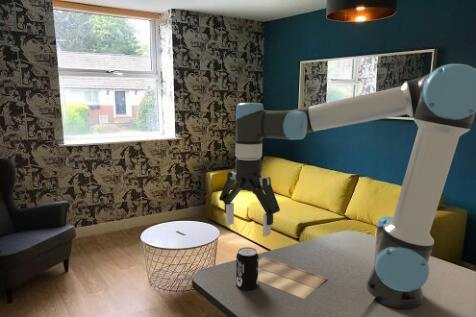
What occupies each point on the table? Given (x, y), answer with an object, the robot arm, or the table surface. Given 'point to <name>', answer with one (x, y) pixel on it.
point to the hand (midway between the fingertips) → (247, 229)
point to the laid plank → (284, 284)
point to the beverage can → (247, 269)
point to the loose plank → (291, 272)
